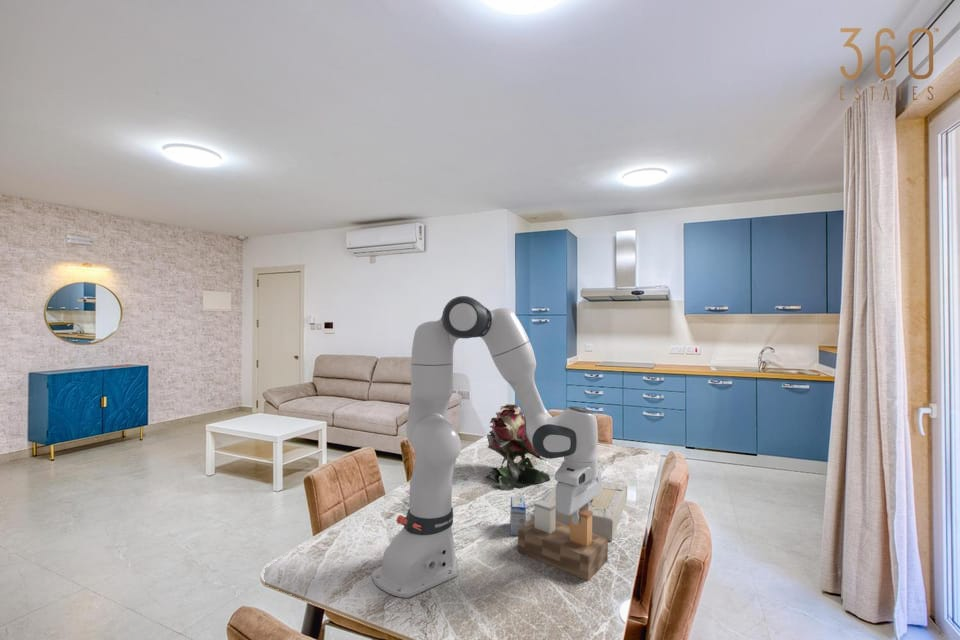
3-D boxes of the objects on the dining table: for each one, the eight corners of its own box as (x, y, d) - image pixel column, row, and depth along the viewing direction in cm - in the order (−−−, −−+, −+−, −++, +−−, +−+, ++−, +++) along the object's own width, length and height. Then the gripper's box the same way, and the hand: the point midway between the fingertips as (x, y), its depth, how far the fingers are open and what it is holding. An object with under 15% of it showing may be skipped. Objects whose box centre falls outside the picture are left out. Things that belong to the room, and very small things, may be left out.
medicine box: (510, 523, 138) (510, 496, 138) (524, 523, 138) (524, 496, 138) (511, 535, 130) (511, 506, 130) (526, 536, 130) (526, 507, 130)
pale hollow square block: (614, 544, 127) (627, 503, 156) (613, 518, 127) (627, 481, 156) (537, 528, 137) (563, 492, 166) (537, 504, 137) (563, 472, 166)
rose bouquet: (561, 478, 179) (562, 405, 180) (505, 493, 163) (506, 413, 163) (521, 461, 200) (521, 396, 201) (468, 473, 184) (469, 402, 184)
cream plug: (549, 546, 120) (550, 508, 120) (533, 540, 123) (534, 503, 123) (555, 542, 122) (556, 504, 122) (539, 536, 125) (540, 499, 125)
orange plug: (587, 556, 113) (587, 515, 113) (568, 549, 116) (569, 510, 116) (592, 551, 115) (592, 511, 115) (574, 544, 118) (574, 506, 119)
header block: (588, 580, 108) (588, 556, 108) (517, 551, 121) (518, 530, 121) (607, 560, 117) (607, 538, 117) (540, 535, 130) (540, 515, 130)
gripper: (586, 457, 126) (586, 504, 126) (551, 475, 110) (550, 530, 110) (607, 461, 122) (607, 511, 122) (573, 481, 106) (573, 538, 106)
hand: (580, 520), depth 116 cm, fingers closed on orange plug, 3 cm apart
